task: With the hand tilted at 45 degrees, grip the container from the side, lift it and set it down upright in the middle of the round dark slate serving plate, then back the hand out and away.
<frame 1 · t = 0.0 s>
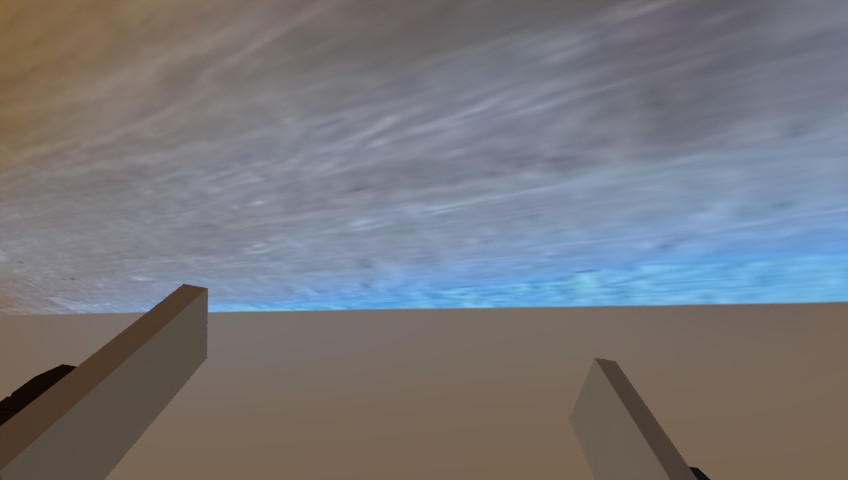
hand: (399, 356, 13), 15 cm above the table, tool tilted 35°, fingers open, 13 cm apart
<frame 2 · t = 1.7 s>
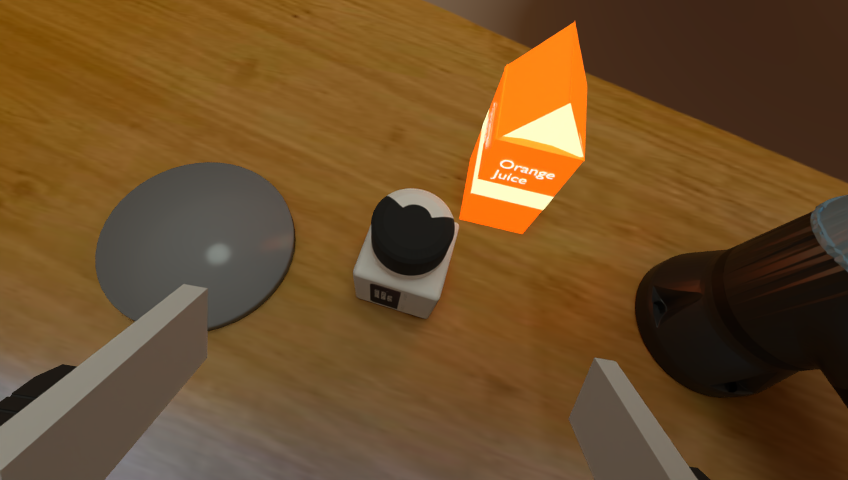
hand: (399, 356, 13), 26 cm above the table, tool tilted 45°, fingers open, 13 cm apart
container: (402, 275, 42), on the table
orange juice: (495, 195, 47), on the table
slate plate: (204, 244, 41), on the table
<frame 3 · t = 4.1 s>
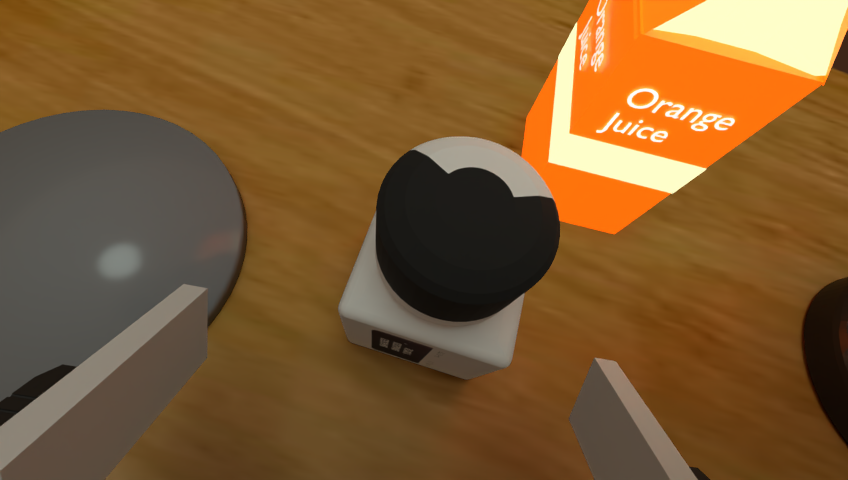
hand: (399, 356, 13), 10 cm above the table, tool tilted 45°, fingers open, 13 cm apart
container: (425, 301, 25), on the table
orange juice: (567, 174, 31), on the table
slate plate: (87, 246, 24), on the table
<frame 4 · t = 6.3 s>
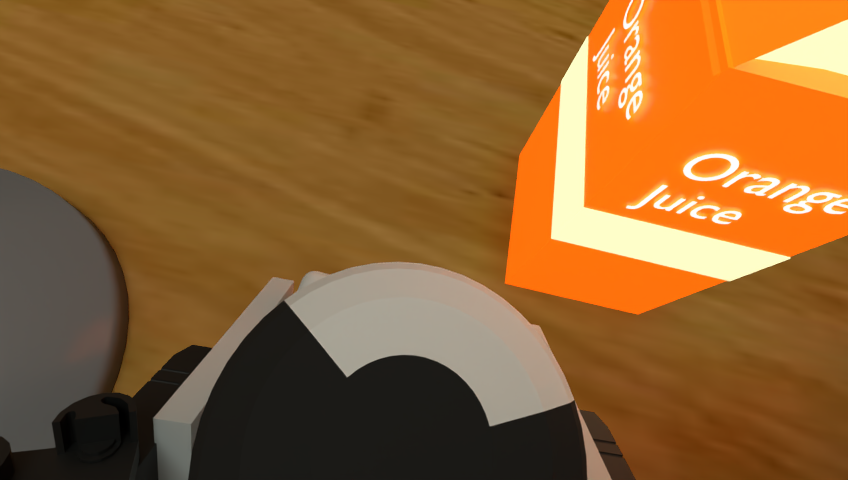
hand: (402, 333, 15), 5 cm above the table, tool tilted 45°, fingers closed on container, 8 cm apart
container: (379, 427, 18), on the table, touching gripper
orange juice: (573, 230, 23), on the table
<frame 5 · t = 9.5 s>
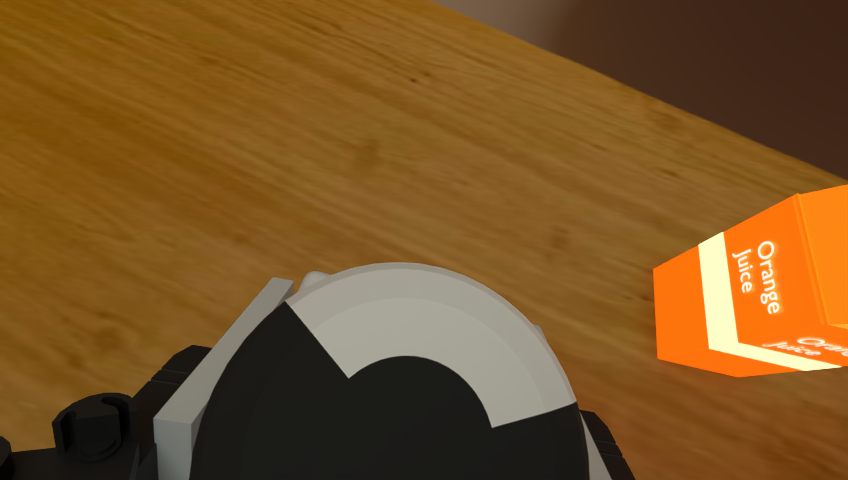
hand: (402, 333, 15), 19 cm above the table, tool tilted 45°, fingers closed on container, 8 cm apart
container: (379, 427, 18), point 14 cm above the table, touching gripper
orange juice: (692, 321, 37), on the table
when the fingers open (8 cm above the table, at t = 12.6 s): container drops 1 cm, resting on slate plate.
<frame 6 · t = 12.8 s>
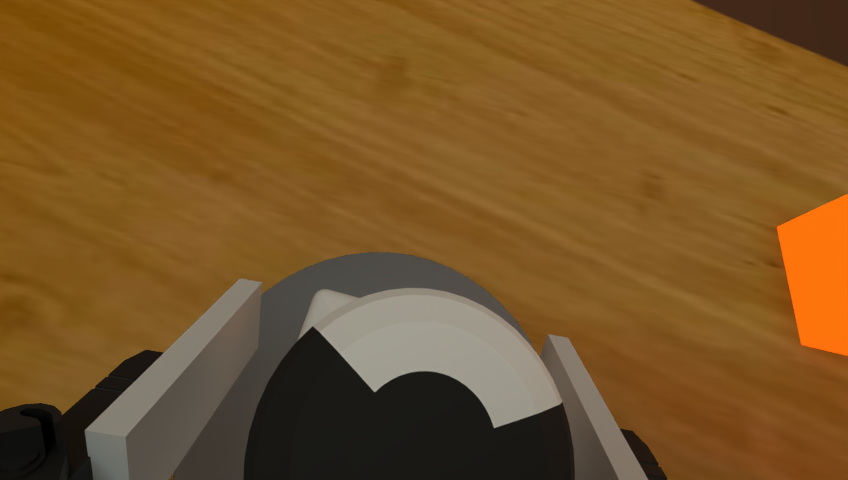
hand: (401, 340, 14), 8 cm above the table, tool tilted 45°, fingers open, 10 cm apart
container: (382, 428, 19), point 1 cm above the table, touching slate plate
orange juice: (836, 294, 28), on the table
slate plate: (378, 425, 20), on the table
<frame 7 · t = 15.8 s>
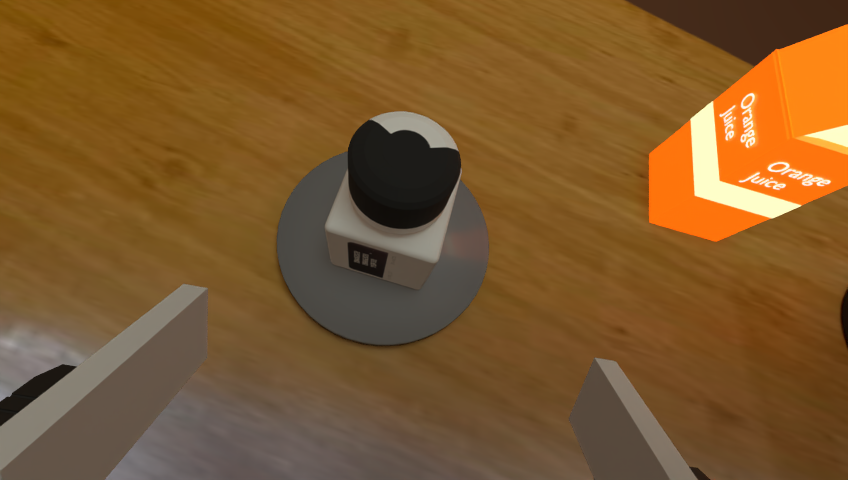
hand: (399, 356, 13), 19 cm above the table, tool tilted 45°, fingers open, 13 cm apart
container: (388, 237, 34), point 1 cm above the table, touching slate plate
orange juice: (680, 197, 43), on the table
slate plate: (386, 242, 35), on the table
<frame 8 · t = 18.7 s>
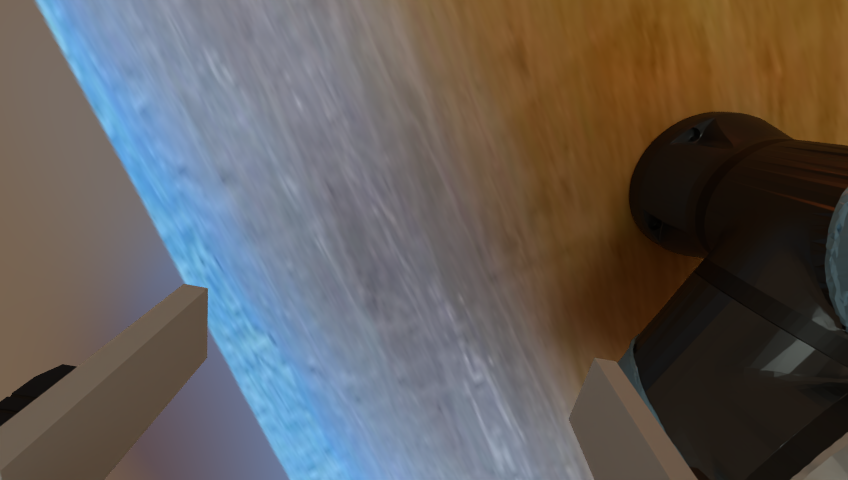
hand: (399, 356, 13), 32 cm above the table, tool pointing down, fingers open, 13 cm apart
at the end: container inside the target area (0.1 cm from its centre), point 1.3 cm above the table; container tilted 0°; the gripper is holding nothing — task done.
